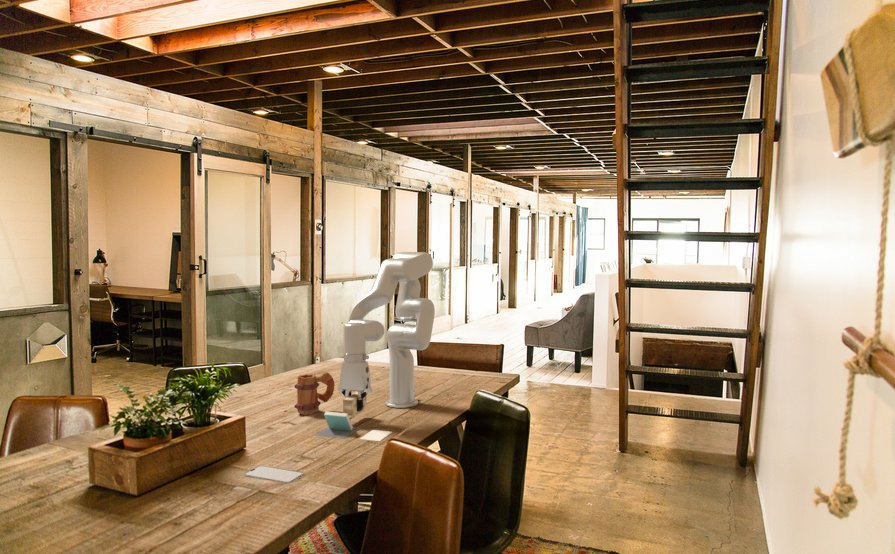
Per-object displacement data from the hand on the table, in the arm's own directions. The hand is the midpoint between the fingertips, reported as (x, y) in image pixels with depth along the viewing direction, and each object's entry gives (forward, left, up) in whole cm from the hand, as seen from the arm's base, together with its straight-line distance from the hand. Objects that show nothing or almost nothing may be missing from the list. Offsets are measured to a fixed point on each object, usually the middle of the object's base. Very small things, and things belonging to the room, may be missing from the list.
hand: (354, 409), depth 215 cm
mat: (+13, 0, -5) cm, 13 cm away
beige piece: (+2, 0, -1) cm, 2 cm away
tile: (+10, 0, -4) cm, 11 cm away
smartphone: (+51, +1, -5) cm, 51 cm away
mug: (-7, -20, -5) cm, 22 cm away
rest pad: (+13, +14, -5) cm, 20 cm away
